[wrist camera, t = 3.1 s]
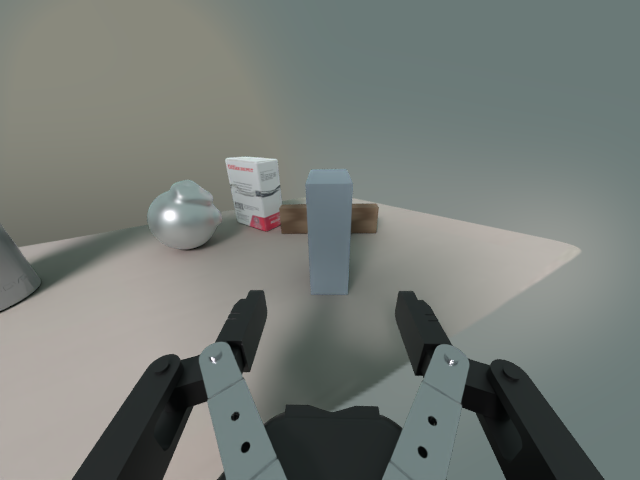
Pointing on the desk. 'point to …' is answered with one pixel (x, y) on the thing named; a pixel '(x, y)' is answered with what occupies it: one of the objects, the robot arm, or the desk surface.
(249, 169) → the ink box
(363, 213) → the notched rail
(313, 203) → the notched block
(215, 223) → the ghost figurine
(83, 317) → the desk surface
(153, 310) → the desk surface
